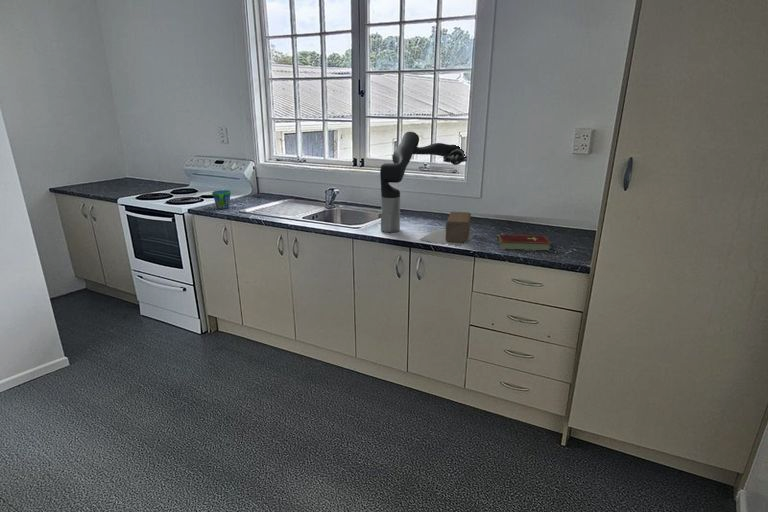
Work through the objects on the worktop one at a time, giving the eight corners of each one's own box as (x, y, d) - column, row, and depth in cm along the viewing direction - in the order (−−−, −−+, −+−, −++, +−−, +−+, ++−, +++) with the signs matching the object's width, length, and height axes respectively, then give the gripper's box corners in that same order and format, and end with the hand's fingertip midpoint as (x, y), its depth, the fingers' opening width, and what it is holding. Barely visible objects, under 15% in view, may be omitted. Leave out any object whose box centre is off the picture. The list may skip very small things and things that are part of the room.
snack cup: (230, 210, 270) (228, 193, 267) (212, 211, 268) (209, 194, 265) (234, 205, 284) (232, 189, 281) (216, 205, 283) (214, 189, 279)
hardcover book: (497, 242, 210) (497, 233, 208) (544, 244, 207) (545, 235, 206) (500, 250, 198) (501, 241, 197) (550, 252, 196) (551, 242, 195)
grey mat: (459, 246, 202) (459, 246, 202) (418, 240, 211) (418, 239, 211) (474, 235, 219) (474, 234, 219) (436, 230, 228) (436, 229, 228)
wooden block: (469, 231, 223) (467, 243, 205) (449, 230, 226) (445, 242, 207) (471, 212, 220) (468, 222, 202) (450, 211, 222) (446, 221, 204)
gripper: (444, 150, 248) (440, 153, 232) (469, 149, 245) (466, 153, 229) (444, 163, 250) (440, 168, 235) (468, 163, 247) (466, 168, 231)
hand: (453, 161), depth 232 cm, fingers closed
